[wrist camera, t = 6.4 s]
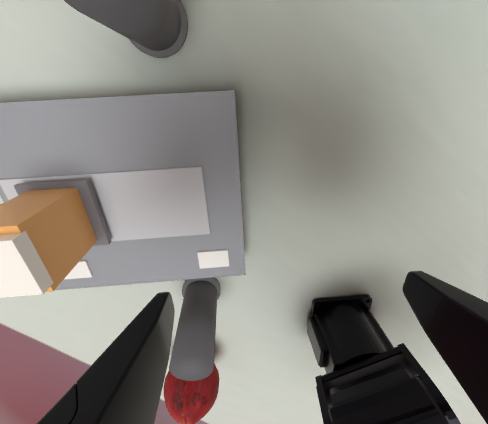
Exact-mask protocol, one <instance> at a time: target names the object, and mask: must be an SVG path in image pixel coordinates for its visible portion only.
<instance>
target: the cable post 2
mask: <svg viewBox="0 0 488 424" xmlns="http://www.w3.org/2000/svg"><path fill="white" fill-rule="evenodd" d="M182 294H183V297H184V299H183V304H182V309H181V314H180V318H179V323H178V328H177V333H176V337H175V342H174V347H173V352H172V356H171V361H170V366H169V370H170V372H171V374H172V375H173V376H175V377H176V378H178V379H181V380H186V381H196V380H201V379H204V378H206V377H208V376H209V375H210V374H211V373H212V372H213V368H214V349H215V329H216V309H217V300H218V298H219V296H220V284H219V282H218V281H217V279H215V278H214V277H212V278H199V279H187V280H186V281H185V282H184V285H183V289H182Z"/></svg>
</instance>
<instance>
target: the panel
mask: <svg viewBox="0 0 488 424" xmlns="http://www.w3.org/2000/svg"><path fill="white" fill-rule="evenodd" d="M78 179H89V180H90V183H91V185H92V188H93V191H94V194H95V196H96V199H97V202H98V205H99V208H100V210H101V213H102V216H103V219H104V222H105V224H106V227H107V230H108V233H109V236H110V238H111V241H112V242H111V243H110V244H109V245H97V246H92V247H91V249H90V250H89V251H88V252H87V253H86V254H85V255H84V257H83V258H82V259H81V260H80V261H79V262H78V263H77V265H76V266H75V267H74V268H73V269H72V270H71V272H70V273H69V274H68V275H67V276H66V277H65V278H64V280H63V281H62V282H61V283H60V284H59V285H58V286H57V288H56V289H55V290H63V289H75V288H88V287H100V286H113V285H125V284H137V283H150V282H162V281H175V280H187V279H199V278H212V277H224V276H237V275H246V272H245V255H244V238H243V221H242V204H241V187H240V170H239V153H238V136H237V119H236V102H235V90H224V91H206V92H188V93H169V94H151V95H132V96H114V97H95V98H77V99H59V100H40V101H22V102H3V103H0V196H1V198H2V199H3V201H4V203H5V202H7V201H9V200H11V199H13V198H15V197H17V196H18V194H17V192H16V190H15V188H14V185H16V184H18V183H32V182H47V181H63V180H78Z"/></svg>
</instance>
